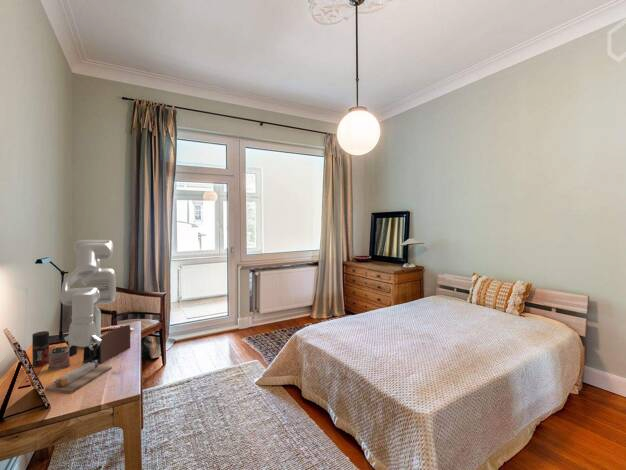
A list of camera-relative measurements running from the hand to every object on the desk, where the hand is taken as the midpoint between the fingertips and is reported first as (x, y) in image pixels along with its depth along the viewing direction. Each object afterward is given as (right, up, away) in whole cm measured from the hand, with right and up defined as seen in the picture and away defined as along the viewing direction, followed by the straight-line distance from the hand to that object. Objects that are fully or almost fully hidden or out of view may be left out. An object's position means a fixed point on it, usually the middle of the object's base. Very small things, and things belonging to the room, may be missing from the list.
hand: (83, 356), depth 135 cm
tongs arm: (+1, -8, -4) cm, 9 cm away
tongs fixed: (0, -8, -2) cm, 8 cm away
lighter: (-17, -8, +7) cm, 20 cm away
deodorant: (-28, -8, +10) cm, 31 cm away
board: (+1, -9, -3) cm, 9 cm away
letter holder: (-4, -8, +22) cm, 24 cm away
